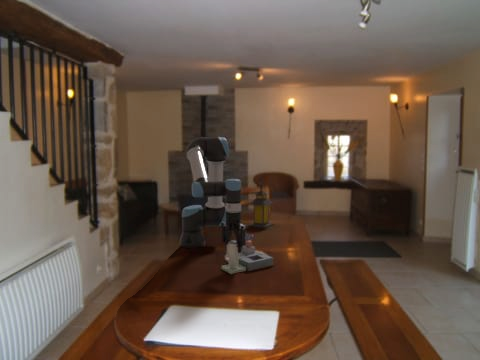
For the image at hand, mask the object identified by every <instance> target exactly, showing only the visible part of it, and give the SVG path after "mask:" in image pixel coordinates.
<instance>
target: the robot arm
mask: <svg viewBox="0 0 480 360" xmlns="http://www.w3.org/2000/svg"><path fill="white" fill-rule="evenodd" d="M185 154H186V158H187V161H189V165H190V169H191V174H192V177H193V181H194V182H192V183H191V195H192V197H194V198H207V202H206V203H205V206H204V207H203V206H202V205H201V204H192V205H188V206H186V207H184V208H183V209H182V211H181V218H182V223H181V225H182V231H181V232H182V233H181V236H180V239H179V246H180V247H182V248H187V249H188V248H189V249H195V248H196V249H197V248H201V247H204V246H205V245H206V240H205V237H204V233H203V228H207V227H221V238H222V239H221V242H222V243H224V244H225V251H226V258H227V259H228V242H229V241H231V239H232V235H233V233H234V237H235V240H236V242H237V246H236V260H238V259H240V253H241V252H242V246H243V245H245V234H246V229H247V225H246V224H243V223H242V222H241V220H242V212H241V211H242V180H240V178H239V179H238V178H228V179H226V180H224V163H225V162H226V161H227V158H229V157H230V147H229V143H228V139H226V137H223V136H205V137H204V136H200V137H196V138H194V139H192V140H191V142H190V143H188V146H187V148H186V151H185ZM204 158H205V159H204ZM205 161H206V162H207V163H208V166H207V167H208V170H207V167H206V163H205ZM223 197H225V203H224V202H223Z"/></svg>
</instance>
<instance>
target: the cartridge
mask: <svg viewBox="0 0 480 360" xmlns="http://www.w3.org/2000/svg"><path fill="white" fill-rule="evenodd" d="M236 246H237V242H236V239H235V240H233V239H232V240H230V241H229V242H228V258H227V259H228V260H227V261H228V264H227V265H229V268H238V267H239V259H238V260H236Z"/></svg>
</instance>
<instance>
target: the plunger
mask: <svg viewBox="0 0 480 360" xmlns="http://www.w3.org/2000/svg"><path fill="white" fill-rule="evenodd" d="M252 242H253V240H252V241H246V247H247V248H250V247H252V246H253V243H252Z"/></svg>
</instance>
